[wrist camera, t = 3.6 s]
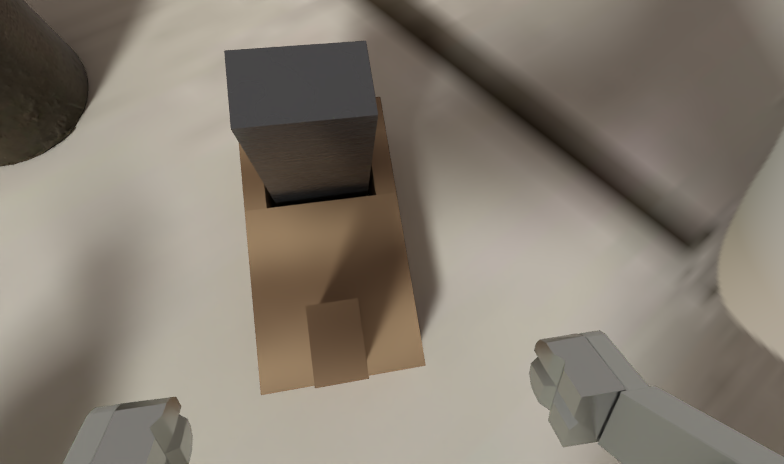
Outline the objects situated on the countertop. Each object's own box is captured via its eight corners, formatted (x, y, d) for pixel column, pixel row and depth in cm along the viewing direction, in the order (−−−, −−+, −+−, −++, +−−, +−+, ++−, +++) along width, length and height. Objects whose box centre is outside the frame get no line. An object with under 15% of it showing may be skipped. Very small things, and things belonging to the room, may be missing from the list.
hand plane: (413, 359, 24) (449, 377, 15) (275, 383, 23) (231, 418, 14) (375, 129, 27) (388, 36, 18) (252, 141, 26) (204, 49, 17)
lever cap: (365, 209, 26) (378, 115, 14) (285, 219, 25) (231, 128, 14) (356, 154, 27) (362, 21, 15) (279, 162, 26) (222, 30, 14)
